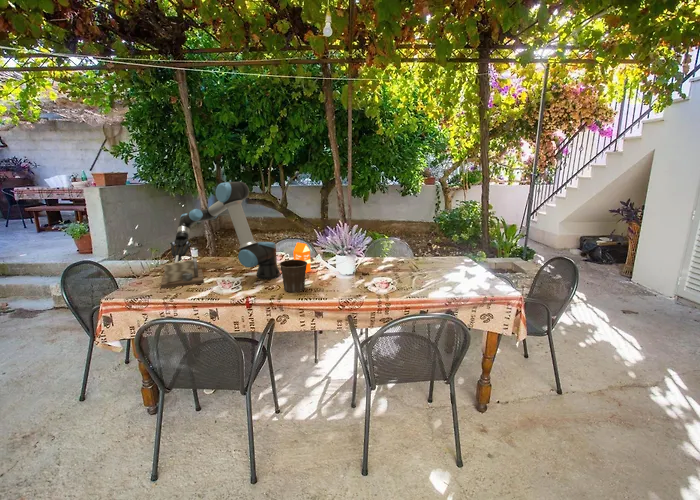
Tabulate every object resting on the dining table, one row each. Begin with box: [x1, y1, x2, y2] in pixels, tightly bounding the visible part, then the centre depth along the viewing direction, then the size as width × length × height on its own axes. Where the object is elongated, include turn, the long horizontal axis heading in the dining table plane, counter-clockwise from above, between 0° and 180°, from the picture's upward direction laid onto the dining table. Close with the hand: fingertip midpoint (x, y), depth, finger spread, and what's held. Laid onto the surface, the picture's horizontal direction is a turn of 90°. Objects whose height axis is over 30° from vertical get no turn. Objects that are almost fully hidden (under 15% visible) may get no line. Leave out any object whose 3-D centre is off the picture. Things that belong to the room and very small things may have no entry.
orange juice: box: [292, 242, 312, 274], centre depth 253 cm, size 8×9×20 cm
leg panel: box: [163, 259, 195, 283], centre depth 229 cm, size 17×2×11 cm, turn 136°
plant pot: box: [279, 259, 307, 293], centre depth 217 cm, size 16×16×16 cm
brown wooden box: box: [160, 257, 205, 289], centre depth 236 cm, size 28×24×14 cm
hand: (176, 265), depth 234 cm, fingers closed
